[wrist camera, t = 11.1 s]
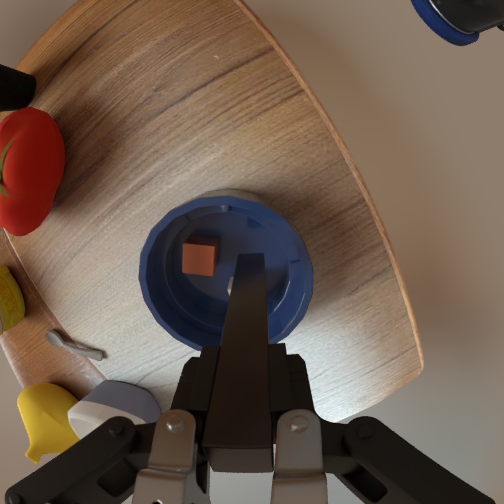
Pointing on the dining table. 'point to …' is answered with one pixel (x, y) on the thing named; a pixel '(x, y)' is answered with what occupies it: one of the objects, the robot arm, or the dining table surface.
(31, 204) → the tomato
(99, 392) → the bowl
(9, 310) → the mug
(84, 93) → the dining table surface
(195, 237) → the block
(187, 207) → the bowl
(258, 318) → the stick
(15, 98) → the cup
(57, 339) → the spoon
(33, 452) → the vase
